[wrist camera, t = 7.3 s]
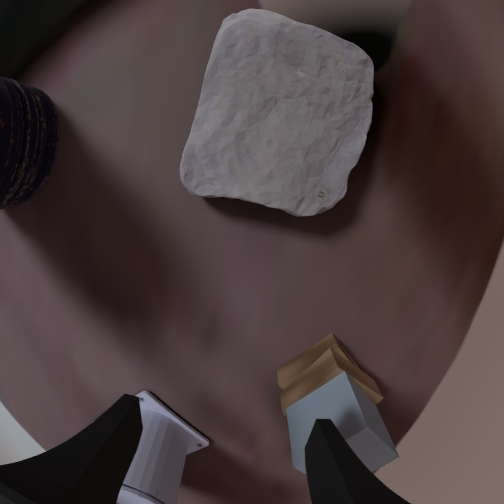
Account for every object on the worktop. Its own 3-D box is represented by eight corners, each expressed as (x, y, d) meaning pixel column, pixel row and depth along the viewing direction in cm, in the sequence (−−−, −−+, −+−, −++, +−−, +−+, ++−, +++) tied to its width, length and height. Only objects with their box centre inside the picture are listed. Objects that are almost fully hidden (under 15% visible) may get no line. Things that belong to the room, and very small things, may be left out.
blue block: (322, 437, 19) (334, 490, 14) (286, 408, 18) (293, 466, 13) (375, 405, 18) (398, 456, 13) (344, 370, 17) (367, 426, 12)
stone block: (356, 65, 18) (221, 21, 16) (393, 51, 14) (229, -11, 12) (318, 218, 22) (177, 188, 19) (349, 237, 17) (171, 201, 15)
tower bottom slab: (311, 401, 23) (315, 420, 21) (276, 366, 22) (278, 385, 20) (361, 369, 23) (370, 386, 20) (331, 330, 22) (338, 346, 19)
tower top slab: (326, 419, 21) (331, 439, 19) (279, 393, 20) (282, 414, 18) (373, 379, 20) (383, 398, 18) (330, 347, 19) (337, 366, 17)
